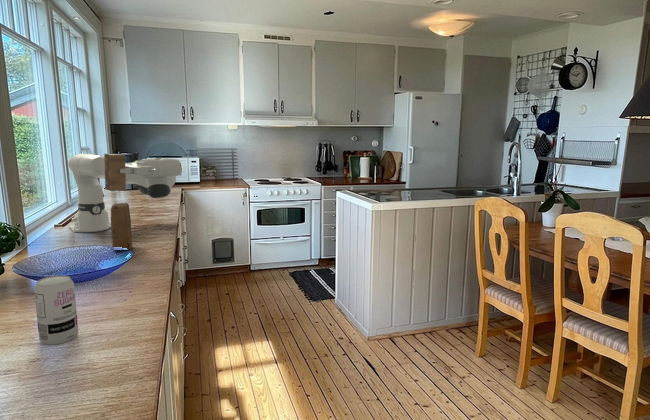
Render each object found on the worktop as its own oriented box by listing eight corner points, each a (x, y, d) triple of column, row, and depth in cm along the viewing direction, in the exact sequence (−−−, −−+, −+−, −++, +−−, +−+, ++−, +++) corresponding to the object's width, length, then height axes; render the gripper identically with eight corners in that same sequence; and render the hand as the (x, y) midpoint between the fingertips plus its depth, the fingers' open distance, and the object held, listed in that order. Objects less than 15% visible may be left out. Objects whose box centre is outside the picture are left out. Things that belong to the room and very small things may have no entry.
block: (130, 251, 181) (128, 205, 177) (111, 252, 179) (108, 206, 175) (133, 245, 191) (131, 201, 188) (115, 246, 189) (112, 202, 185)
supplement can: (50, 331, 108) (45, 274, 105) (84, 330, 108) (80, 274, 106) (31, 346, 100) (25, 286, 97) (68, 345, 101) (63, 286, 98)
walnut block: (105, 189, 179) (104, 153, 177) (119, 188, 183) (118, 154, 181) (111, 191, 175) (110, 154, 173) (125, 190, 180) (125, 154, 177)
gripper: (159, 177, 182) (127, 179, 172) (137, 174, 196) (106, 176, 185) (158, 163, 181) (126, 164, 171) (136, 160, 194) (105, 161, 184)
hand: (115, 170), depth 178 cm, fingers closed on walnut block, 6 cm apart
